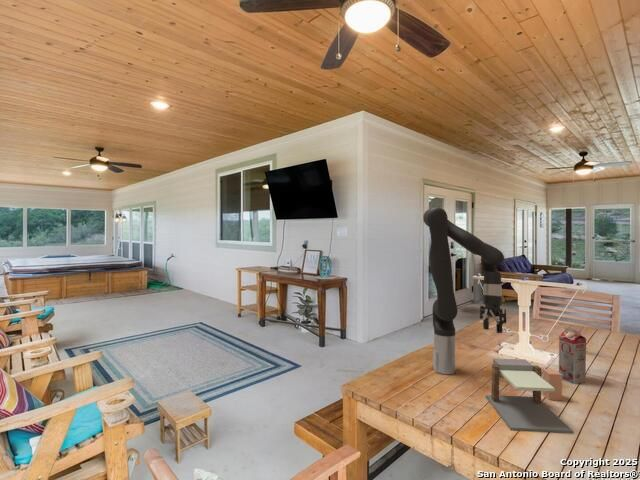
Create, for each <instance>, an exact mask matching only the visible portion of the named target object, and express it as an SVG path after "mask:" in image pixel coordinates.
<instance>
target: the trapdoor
mask: <svg viewBox="0 0 640 480" xmlns="http://www.w3.org/2000/svg"><path fill="white" fill-rule="evenodd" d="M492 364H495V365H498V366H499V379H501V378H502V379H505V380H506V381H507V383H509V384H510V385H511V386H512V387H513V388H514V389H515V390H516V391H530V392H531V391H532V392H533V391H541V392H543V391H555V388H554V387H552V386H551V385H550V384H549V383H547V382H546V381H545V380H544V379H543V377H542V376H541V377H540V376H539V375H538V374H536V373H535V372H534V371H533V366H534V365H533V364H532V363H530V362H529V361H528V360H527V359H523V358H522V359H519V358H518V359H517V358H492Z"/></svg>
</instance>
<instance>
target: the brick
mask: <svg viewBox="0 0 640 480" xmlns="http://www.w3.org/2000/svg"><path fill="white" fill-rule="evenodd" d="M542 376H543V377H542V378H543V379H544V380H545V381H546V382H547V383H549V384H550V385H551V386H552V387H554V388H555V391H542V395H543V396H544V397H545V398H546V399H548V400H549V401H563V379H562V374H561V373H559V370H556V369H550V368H543V369H542Z"/></svg>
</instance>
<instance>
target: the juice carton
mask: <svg viewBox="0 0 640 480" xmlns="http://www.w3.org/2000/svg"><path fill="white" fill-rule="evenodd" d="M558 336H559V337H558V372H559V373H561V374H562V380H564V381H566V382H569V383H571V384H573V385H574V384H581V383H586V369H587V361H586V360H587V338H586V337H584V336H583V335H581V331H580V330H577V329H573V328H570V327H566V326H565V327H564V331H562V332H561V333H560V334H559V335H558Z"/></svg>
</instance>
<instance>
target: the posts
mask: <svg viewBox="0 0 640 480" xmlns="http://www.w3.org/2000/svg"><path fill="white" fill-rule="evenodd" d="M533 371H534V372H535V373H536V374H538V375H539V376H540V377H541V378H542V374H543V369H542V367H540V366H539V365H533ZM490 393H491V394H490V395H491V399H492V400H493V401H494V402H499V395H500V378H499V366H498V365H495V364H493V363H492V364H491V392H490ZM532 397H533V401H534V402H535V403H536V404H541V401H542V391H532Z"/></svg>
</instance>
